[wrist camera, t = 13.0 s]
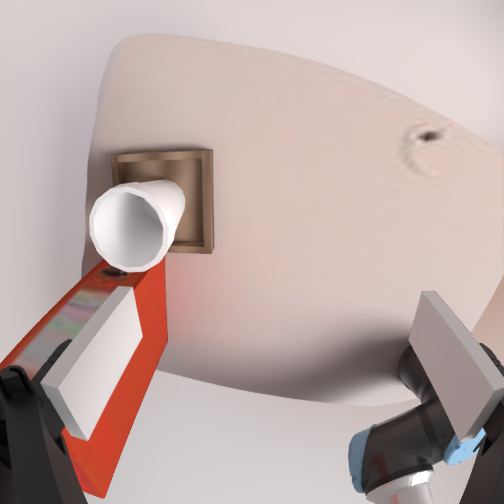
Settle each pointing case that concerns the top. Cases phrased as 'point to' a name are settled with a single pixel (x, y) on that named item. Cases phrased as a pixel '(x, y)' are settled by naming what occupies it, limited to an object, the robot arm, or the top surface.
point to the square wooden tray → (188, 179)
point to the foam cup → (136, 223)
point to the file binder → (131, 381)
